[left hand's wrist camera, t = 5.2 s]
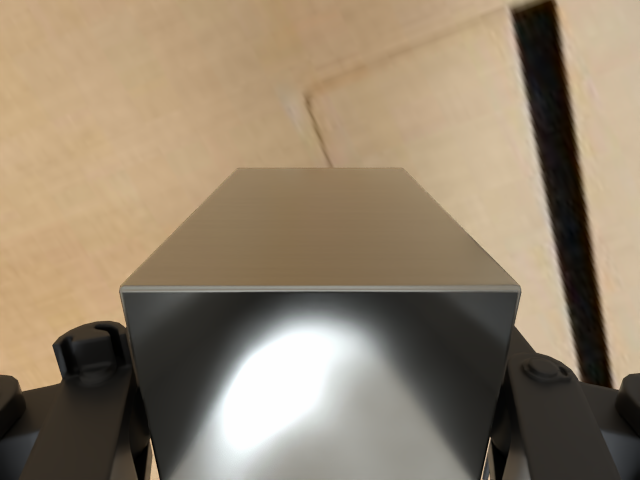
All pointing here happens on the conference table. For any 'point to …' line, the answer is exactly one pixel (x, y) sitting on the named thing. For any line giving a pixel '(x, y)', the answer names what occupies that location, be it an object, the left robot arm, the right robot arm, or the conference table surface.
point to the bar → (320, 332)
